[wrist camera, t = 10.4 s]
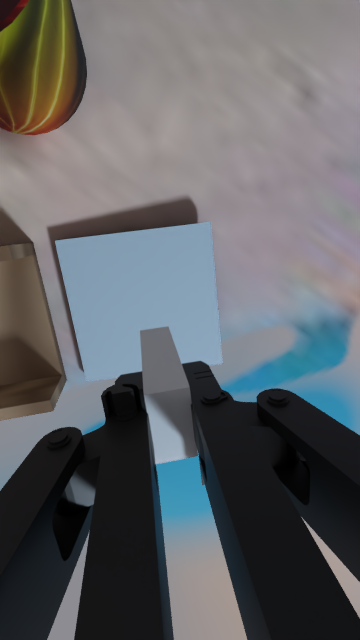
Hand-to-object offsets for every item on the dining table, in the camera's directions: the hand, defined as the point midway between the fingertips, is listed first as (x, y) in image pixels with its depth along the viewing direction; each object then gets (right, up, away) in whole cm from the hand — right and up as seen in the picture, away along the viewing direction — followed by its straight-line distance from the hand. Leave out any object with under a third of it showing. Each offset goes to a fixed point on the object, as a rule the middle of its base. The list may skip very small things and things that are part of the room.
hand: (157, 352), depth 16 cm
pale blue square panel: (-2, +3, +12) cm, 13 cm away
